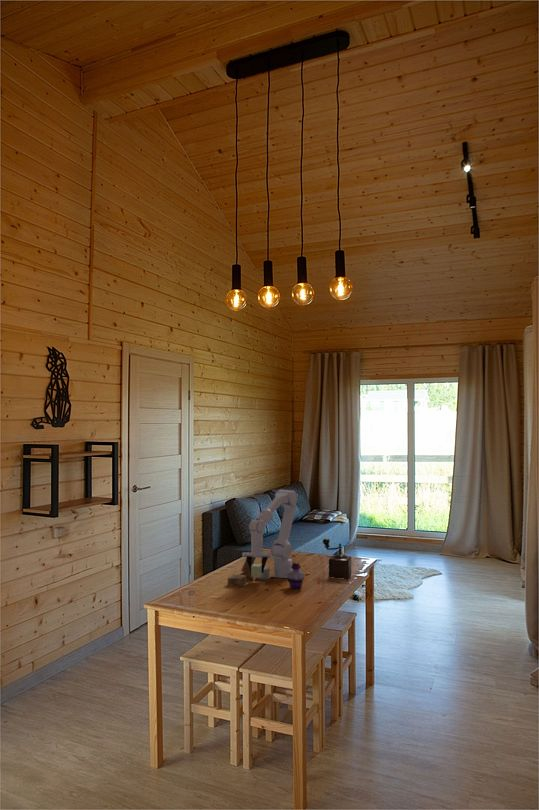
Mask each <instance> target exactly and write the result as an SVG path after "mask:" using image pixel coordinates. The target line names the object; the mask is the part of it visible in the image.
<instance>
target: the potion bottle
mask: <svg viewBox="0 0 539 810" xmlns="http://www.w3.org/2000/svg"><path fill="white" fill-rule="evenodd" d="M291 568H292V571H290V572H288V573H287V576H288V578H286V579H287V582H289V586H290V587H289V589H291V588H292V589H291V590H296V589H298V590H301V589H302V587H303V581H304V579H305V575H306V574H305V572H303V571H301V570H300V569H301V565H300V562H297V561H294V562H293V561H292V565H291ZM300 588H301V589H300Z"/></svg>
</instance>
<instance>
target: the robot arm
mask: <svg viewBox="0 0 539 810" xmlns="http://www.w3.org/2000/svg"><path fill="white" fill-rule="evenodd" d="M298 497H299V496H298V494H297V492H296V491H295V490H287V489H282V488H281V489H278V490H277V492H275V495H274V498H273V499H272V501H271V502H270V504H269V506H268V507H266V508H264V509H261V512H260V513H259V514H258V515H257V516H256V518H255V519H252V520H251V521H250V522H249V524H248V530H249V532H250V536H251V539H250V540H251V546H250V547H251V548H250V549H251V551H250V552H249V551H248V552H242V555H241V556H242V558H246V559H245V561H246V560H247V562H248V565H249V568H250V572H251V566H252V562H253V557H256V558H261V564H262V573H263V572H264V567H266V563H267V561H268V560H269V559H273V574H272V576H271V578H277V579H278V578H282V579H283V578H284V579H287V578H288V576H287V573H288V572H290V571H293V569H292V568H291V565H293V559H292V558H290V557H291V554H292V544H291V543H290V541H289V539H290V533H291V530H292V527H293V521H294V516H295V512H296V507H297V506H296V505H297V501H298ZM280 506H282V507H283V509H284V512H283V515H282V519H281V524H280V529H279V533H278V536H277V539H275V540H274V541H273V543H272V546H271V547H270V553H269V552H264V551H263V550H264V547H263V545H264V538H263V537H264V531H265V530H266V526H267V524H268V523H269V522H270V520H271V519H273V513H274V512H275V511H276V510H277V509H278V508H279V507H280Z"/></svg>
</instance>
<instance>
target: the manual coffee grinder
mask: <svg viewBox="0 0 539 810" xmlns="http://www.w3.org/2000/svg"><path fill="white" fill-rule="evenodd" d="M330 541H331V540H330V538H324V539H322V543H323V545H324V548H326V550H327V551H332V550H334V551H335V550H339V551H338V553H336V554H333V555H332V556H330V557H329V559H328V578H329V577H334V578H333V579H338V578H344V579H343V580H349V579H350V578H351V577H350V576H352V575H351V574H352V556H349V555H346V554H344V553H343V552H342V544H341V543H339V544H338V547H331V546H330ZM330 547H331V548H330Z"/></svg>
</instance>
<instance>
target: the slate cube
mask: <svg viewBox="0 0 539 810" xmlns="http://www.w3.org/2000/svg"><path fill="white" fill-rule="evenodd" d="M270 570H271V569H270V567H269V566H265V567H264V572H263V575H262V577H257V579H258V580H269V579H270Z"/></svg>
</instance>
